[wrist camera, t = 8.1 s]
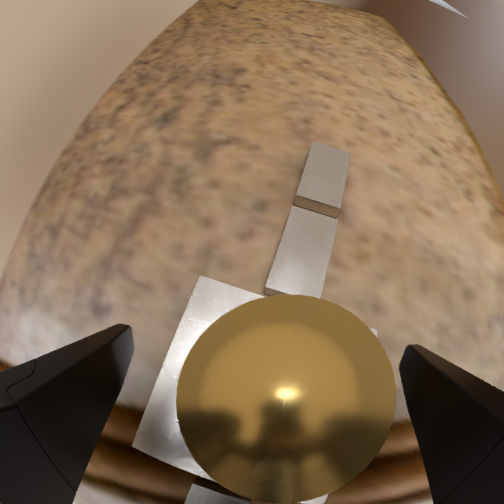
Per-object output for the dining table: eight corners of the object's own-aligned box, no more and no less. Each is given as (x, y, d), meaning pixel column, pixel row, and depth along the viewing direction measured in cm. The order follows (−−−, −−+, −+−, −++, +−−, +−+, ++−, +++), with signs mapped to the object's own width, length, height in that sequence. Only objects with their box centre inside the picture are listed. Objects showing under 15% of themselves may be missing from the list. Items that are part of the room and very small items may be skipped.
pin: (264, 438, 14) (314, 533, 3) (212, 402, 15) (132, 417, 4) (302, 389, 16) (426, 363, 4) (250, 354, 16) (265, 255, 5)
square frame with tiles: (236, 624, 6) (236, 642, 4) (99, 578, 8) (86, 591, 5) (384, 175, 23) (393, 156, 21) (271, 141, 24) (273, 119, 22)
